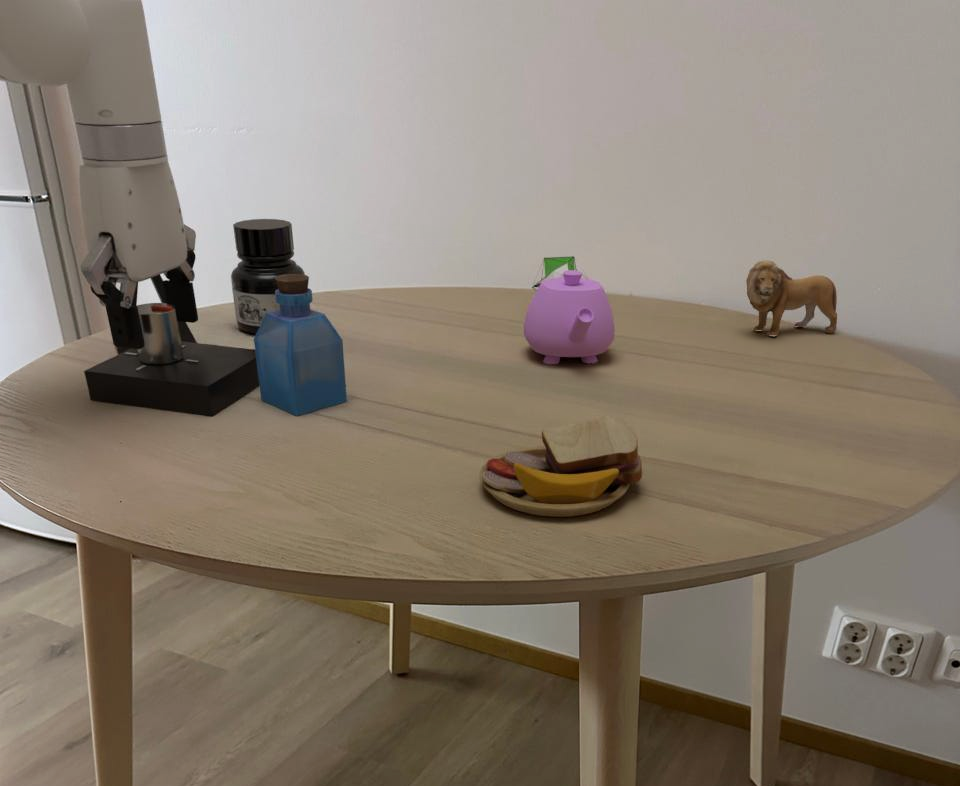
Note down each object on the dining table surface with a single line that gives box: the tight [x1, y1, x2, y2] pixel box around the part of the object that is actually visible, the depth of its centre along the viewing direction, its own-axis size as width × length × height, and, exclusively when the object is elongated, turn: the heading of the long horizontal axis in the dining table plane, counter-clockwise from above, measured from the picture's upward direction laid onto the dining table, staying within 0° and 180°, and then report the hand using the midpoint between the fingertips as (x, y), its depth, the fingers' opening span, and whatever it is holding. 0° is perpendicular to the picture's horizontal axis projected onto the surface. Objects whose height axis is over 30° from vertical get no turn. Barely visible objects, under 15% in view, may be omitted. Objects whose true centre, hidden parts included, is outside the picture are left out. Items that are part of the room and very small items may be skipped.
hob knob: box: [137, 302, 183, 364], centre depth 94 cm, size 4×4×5 cm
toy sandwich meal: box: [478, 415, 643, 518], centre depth 76 cm, size 12×14×5 cm
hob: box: [83, 341, 260, 417], centre depth 96 cm, size 14×12×3 cm
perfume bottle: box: [253, 274, 348, 417], centre depth 91 cm, size 6×6×12 cm
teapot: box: [523, 269, 616, 365], centre depth 105 cm, size 10×15×9 cm
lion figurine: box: [746, 259, 838, 336], centre depth 115 cm, size 15×5×9 cm, turn 112°
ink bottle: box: [230, 218, 306, 335], centre depth 113 cm, size 10×9×12 cm
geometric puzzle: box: [531, 255, 589, 292], centre depth 124 cm, size 7×7×8 cm
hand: (158, 333), depth 94 cm, fingers open, 9 cm apart
